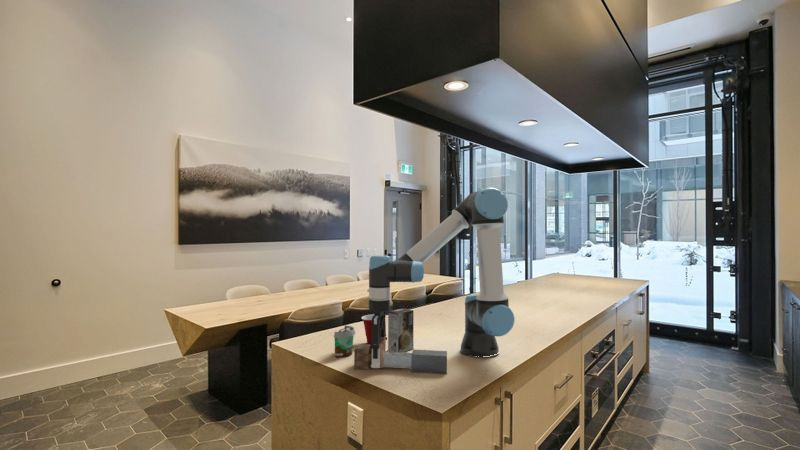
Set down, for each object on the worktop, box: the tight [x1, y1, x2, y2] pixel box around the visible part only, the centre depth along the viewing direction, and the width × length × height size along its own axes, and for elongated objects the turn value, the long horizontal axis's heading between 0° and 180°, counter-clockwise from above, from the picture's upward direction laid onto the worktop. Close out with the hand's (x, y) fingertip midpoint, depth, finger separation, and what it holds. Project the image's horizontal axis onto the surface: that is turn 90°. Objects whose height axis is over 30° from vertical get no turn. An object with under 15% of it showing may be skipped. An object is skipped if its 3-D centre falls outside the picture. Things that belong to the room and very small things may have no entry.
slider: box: [369, 336, 412, 369], centre depth 134 cm, size 22×5×9 cm, turn 83°
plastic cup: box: [361, 313, 387, 345], centre depth 166 cm, size 11×11×12 cm
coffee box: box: [387, 308, 414, 353], centre depth 157 cm, size 9×6×16 cm
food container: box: [333, 325, 356, 359], centre depth 149 cm, size 12×6×10 cm, turn 168°
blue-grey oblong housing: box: [410, 349, 448, 375], centre depth 132 cm, size 12×6×6 cm, turn 83°
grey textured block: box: [353, 343, 372, 371], centre depth 135 cm, size 5×6×7 cm
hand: (378, 362), depth 134 cm, fingers open, 9 cm apart
